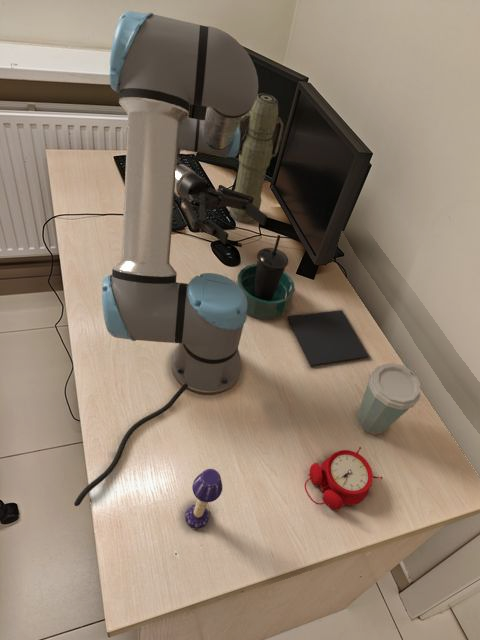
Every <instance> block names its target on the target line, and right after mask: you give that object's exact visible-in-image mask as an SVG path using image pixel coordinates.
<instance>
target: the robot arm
mask: <svg viewBox="0 0 480 640" xmlns="http://www.w3.org/2000/svg"><path fill="white" fill-rule="evenodd" d="M243 46H244V45H242V44H241V43H240V42H239V41H238V40H237V39H236V38H234V37H233V36H231V35H230V34H229V33H228V32H226V31H224V30H222V29H220V28H217V27H214V26H211V25H208V26H207V25H202V24H199V23H194V22H190V21H185V20H180V19H176V18H172V17H167V16H164V15H160V14H154V13H153V12H147V13H146V12H138V11H132V10H129V11H125V12H123V13H122V14H121V15H120V17H119V19H118V21H117V23H116V25H115V28H114V33H113V37H112V42H111V50H110V51H111V52H110V57H109V58H110V59H109V67H110V68H109V84H110V87H111V89H112V90H113V91H114V92H115V93H117V94H118V95H119V96H118V103H119V105H120V106H121V108H122V109H123V111H124V112H125V113H126V115H127V130H126V151H125V173H124V174H125V175H124V196H123V219H122V237H121V238H122V240H121V241H122V242H121V258H120V259H119V260H118V261H117V262H116V263H115V264H113V265H112V267H111V268H112V269H111V270H112V271H111V274H108V275H105V276H104V277H103V279H102V284H101V285H102V286H101V288H102V293H101V304H102V305H101V306H102V314H103V320H104V324H105V327H106V328H105V329H106V330H107V332H108V334H109V335H111V336H112V337H113V338H116V339H122V340H130V341H132V342H136V341H141V342H157V343H169V344H170V343H172V344H178V345H177V346H176V348H175V349H174V351H173V354H172V357H171V365H170V367H171V373H172V376H173V377H174V379H175V380H176V382H177V383H178V384H179V385H180V386H181V387H180V388H179V389H178V390H177V391H176V393H175V394H174V395H173V396H172V398H170V400H169V401H168V402H167V403H166V404H164V405H163V406H162V407H160V408H159V409H158V410H156V411H154V412H152V413H150V414H148V415H146V416H145V417H142V418H141V419H139V420H138V421H136V422H135V423H134V424H133V425H132V426H131V427H130V428H129V429H128V430H127V431H126V432H125V434H124V436H123V438H122V439H121V442H120V444H119V445H118V448H117V451H116V453H115V456H114V458H113V459H112V461H111V463H110V464H109V465H108V467H107V468H106V469H105V470H104V471H103V472H102V473H101V474H100V475H99V476H97V477H96V478H95V479H94V480H92V481H91V482H90V483H89V484H87V486H86V487H85V488H83V490H82V491H81V492H80V493H79V494H78V495H77V498H76V499H75V501H74V503H73V505H74V506H75V507H78V506H80V505H81V503H82V502H83V500H84V499H85V497H86V496H88V494H89V493H90V491H92V490H94V488H95V487H97V486H98V485H99V484H100V483H102V482H103V481H104V480H105V479H106V478H108V477H109V475H111V473H112V472H113V471H114V470H115V468H116V466H117V465H118V464H119V461H120V460H121V458H122V455H123V452H124V450H125V447H126V445H127V443H128V441H129V439H130V437H131V436H132V435H133V434H134V432H135V431H136V430H138V428H140V427H141V426H142V425H144V424H146V423H147V422H149V421H151V420H154V419H155V418H157V417H158V416H161V415H162V414H164V413H165V412H167V411H168V410H169V409H170V408H171V407H173V405H174V404H175V403H176V402H177V400H178V399H179V398H180V397H181V396H182V394H184V392H185V391H186V390H187V391H188V392H191V393H193V394H197V395H201V396H216V395H220V394H223V393H225V392H228V391H229V390H230V389H232V388H233V387H234V386H235V385H236V384H237V383H238V381H239V379H240V375H241V372H242V358H241V355H240V350H239V345H240V341H241V338H242V333H243V329H244V326H245V323H246V322H247V315H248V314H246V312H247V298H246V295H245V293H244V291H243V290H242V289H241V287H239V286H238V285H236V282H235V280H233V279H231V278H229V277H227V276H226V275H222V274H218V273H212V272H206V273H205V272H204V273H200V274H199V275H195V276H194V277H193V278H191V280H190V281H189V282H188V283H185V282H177V276H178V275H177V271H176V270H175V269H174V267H173V266H172V265H171V263H170V260H171V259H170V258H171V244H172V230H173V219H174V218H173V217H174V202H175V196H176V197H178V198H179V199H180V200H181V205H180V208H181V210H182V211H183V212H184V213H185V216H186V218H187V219H188V222H189V224H190V227H191V229H192V231H194V232H197V231H198V230H199V232H200V233H205V232H206V233H208V235H210V236H213V237H215V238H216V239H217V240H218V241H220V242H221V243H222V244H223V245H226V244H228V240H229V233H228V232H227V231H226V230H225V229H224V228H222V227H221V226H220V225H218V224H216V223H215V222H214V221H213V220H212V219H207V215H206V210H207V211H209V210H211V209H213V208H217V207H219V208H223V207H225V208H226V207H227V208H230V209H231V208H236V209H241V210H246V211H245V213H246V214H248V215H249V216H250V217H252V218H253V219H254V220H256V221H255V222H257V223H259V224H260V225H261V226H262V227H264V226H266V224H267V219H268V215H267V214H266V213H264V212H262V211H261V210H260V209H258V208H257V207H255V206H254V205H253V200H254V198H253V197H251V196H248V195H245V194H242V193H239V192H236V191H234V189H230V188H228V187H226V186H224V185H222V184H219V185H218V188H216V189H215V188H212V187H210V185H209V183H208V181H207V180H206V179H205V178H203V177H202V176H200V175H199V174H198V173H196V172H195V171H194V170H192V169H191V168H190V167H188V166H187V165H185V164H184V163H183V162H181V160H180V155H181V151H189V152H195V153H200V154H206V155H212V156H219V157H221V158H235V157H237V156H238V155H239V153H238V150H239V144H240V145H241V143H240V129H239V127H238V126H239V124H240V121H241V119H242V117H243V116H244V115H245V114H247V113H248V112H249V111H250V110H251V108H252V106H253V105H254V102H255V100H256V97H257V94H259V93H258V92H259V77H258V73H257V69H256V66H255V64H254V62H253V60H252V58H251V56H250V55H249V53H248V51H247V50H246V49H245V48H244V47H243ZM190 106H199V107H206V110H205V111H206V112H205V117H204V119H199V118H198V119H197V118H192V117H189V116H190V108H191V107H190ZM219 198H220V201H219ZM193 207H194V208H198V216H199V219H198V216H197V214H196V212H195V210H194V208H193Z"/></svg>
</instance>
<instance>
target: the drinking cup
mask: <svg viewBox="0 0 480 640" xmlns="http://www.w3.org/2000/svg"><path fill="white" fill-rule="evenodd" d="M280 239H281V235H280V234H277V236H276V240H275V244H274V247H264V248H261V249H260V250H259V251H258V252H257V254H256V259H257V261H256V264H257V269H256V276H255V284H254V291H253V296H254V297H256V298H258V299H261V300H265V301H271V300H272V297H273V295H274V293H275V290H276V288H277V286H278V283H279V281H280V279H281V276H282V274H283V272H285V270H286V267H287V266H288V265H289V263H290V262H289V257H288V256H287V254H286V253H285V252H283V250H280V249H278V247H279V243H280Z"/></svg>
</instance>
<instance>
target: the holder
mask: <svg viewBox="0 0 480 640" xmlns="http://www.w3.org/2000/svg"><path fill="white" fill-rule="evenodd" d="M286 320H287V321H288V324H289V325H290V328H291V330H292V332H293V334H294V336H295V338H296V340H297V342H298V345H299V346H300V348H301V350H302V353H303V355H304V357H305V359H306V361H307V363H308V365H309V367H310V368H313V367H319V366H327V365H332V364H339V363H346V362H352V361H357V360H358V361H359V360H364V359H368V358H369V357H370V355H369V353H368V352H367V350H366V349H365V347H364V345H363V344H362V342H361V340H360V338H359V337H358V335H357V333H356V332H355V330H354V329H353V326H352V324H351V323H350V321H349V319H348V318H347V317H346V314H345V313H344V311H343V310H342V309H341V310H332V311H323V312H314V313H305V314H295V315H287V316H286Z"/></svg>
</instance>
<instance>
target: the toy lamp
mask: <svg viewBox="0 0 480 640" xmlns="http://www.w3.org/2000/svg"><path fill="white" fill-rule="evenodd" d="M191 488H192V493H193V496H194V497H195V498H196V499H197V501H196V502H195V503H194V504H192V505H190V506H189V507H188V508H187V510H186V511H185V514H184V520H185V523H186V524H187V525H188V527H190V528H191V529H193V530H194V529H195V530H200V529H203V528H204V527H206V526H207V525H208V523H209V521H210V512H209V510H208V508H207V505H208V503H213V502H214V501H216V500H218V499H219V498H220V497H221V495H222V492H223V481H222V477H221V474H220V473H219V471H217V470H216V469H214V468H207V469H204V470H203V471H202V472H200V473H199V474H198V475H197V476H196V477H195V478H194V479H193V482H192V487H191Z"/></svg>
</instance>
